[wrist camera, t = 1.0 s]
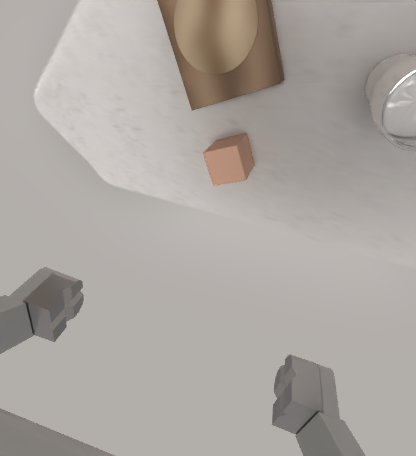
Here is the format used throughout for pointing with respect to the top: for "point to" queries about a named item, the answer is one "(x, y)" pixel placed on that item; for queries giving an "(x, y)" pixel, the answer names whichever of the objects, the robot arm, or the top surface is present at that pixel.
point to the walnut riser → (223, 47)
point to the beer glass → (394, 99)
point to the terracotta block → (229, 160)
